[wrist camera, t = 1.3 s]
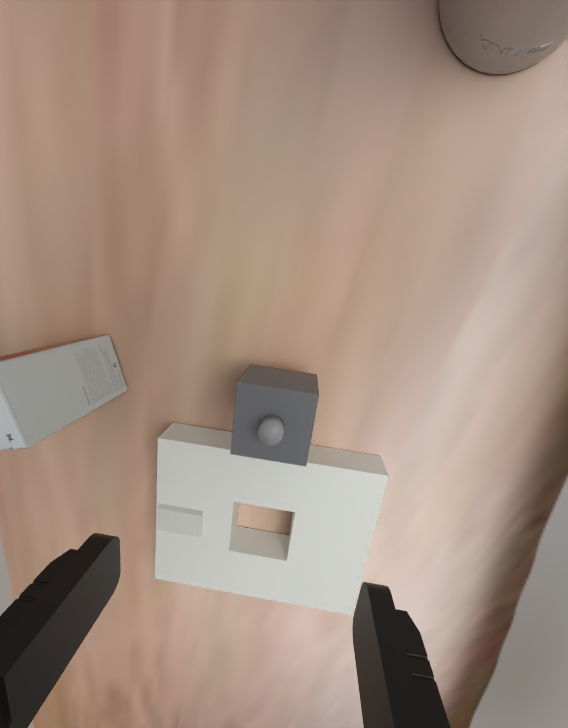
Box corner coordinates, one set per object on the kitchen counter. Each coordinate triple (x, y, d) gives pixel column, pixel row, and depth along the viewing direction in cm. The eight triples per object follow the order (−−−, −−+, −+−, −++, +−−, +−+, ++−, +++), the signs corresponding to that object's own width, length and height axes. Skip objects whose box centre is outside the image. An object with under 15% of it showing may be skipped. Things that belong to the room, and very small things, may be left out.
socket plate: (173, 422, 28) (154, 441, 25) (380, 456, 28) (390, 480, 24) (168, 552, 33) (151, 584, 29) (348, 585, 32) (353, 622, 28)
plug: (255, 357, 26) (232, 388, 18) (316, 366, 26) (319, 401, 18) (249, 412, 28) (225, 464, 20) (306, 421, 27) (306, 477, 19)
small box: (111, 333, 27) (-10, 362, 17) (130, 390, 28) (28, 450, 18) (34, 347, 28) (-125, 382, 18) (55, 402, 29) (-81, 464, 19)
